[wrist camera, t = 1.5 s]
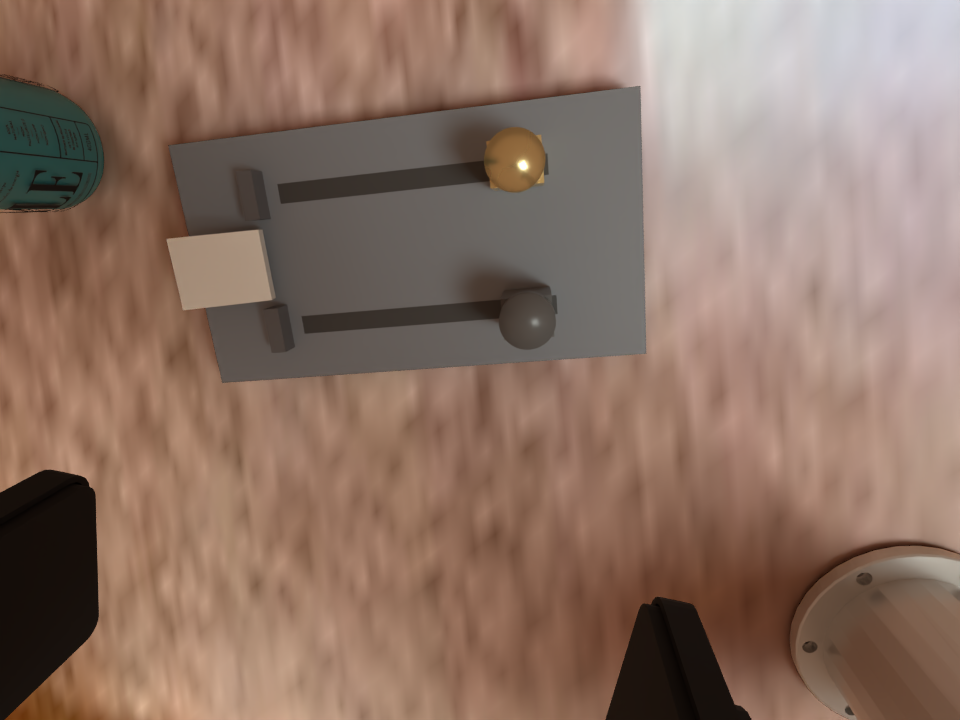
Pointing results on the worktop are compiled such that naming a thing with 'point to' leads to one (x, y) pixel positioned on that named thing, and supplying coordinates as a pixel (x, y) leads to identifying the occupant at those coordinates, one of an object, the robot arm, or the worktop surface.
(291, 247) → the panel
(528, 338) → the dark gray slider
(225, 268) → the block
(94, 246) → the worktop surface
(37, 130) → the beverage bottle
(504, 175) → the brass slider
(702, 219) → the worktop surface
